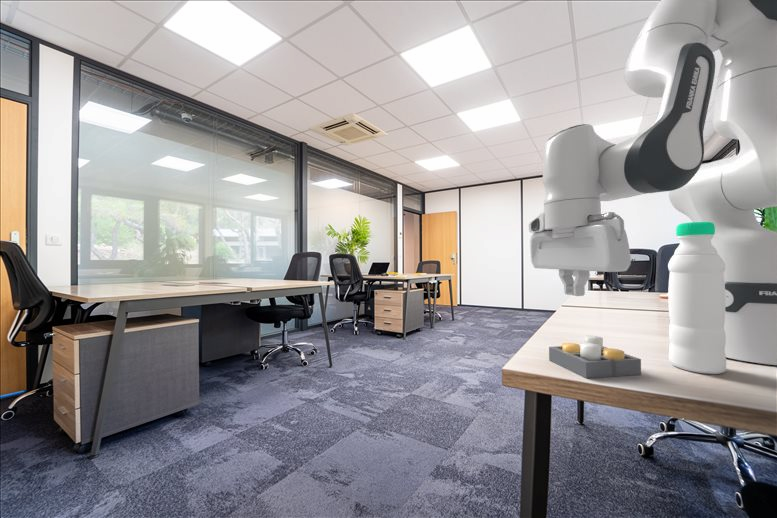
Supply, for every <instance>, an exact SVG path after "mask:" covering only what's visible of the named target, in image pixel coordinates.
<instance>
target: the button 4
mask: <svg viewBox="0 0 777 518" xmlns="http://www.w3.org/2000/svg"><path fill="white" fill-rule="evenodd" d="M624 354H625V351H624V350H621V349H617V348H611V347H606V348H605V349H603V356H605V357H608V358H610V359H613V360H616V359H624Z"/></svg>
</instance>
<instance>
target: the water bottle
mask: <svg viewBox="0 0 777 518" xmlns="http://www.w3.org/2000/svg"><path fill="white" fill-rule="evenodd" d="M675 234H676V237H677V239H678V240H679V244H678V246H677V248H676V249H675V250H674V253H673V255H672V256H671V257H670V259H669V261H668V263H667V268H668V269H667V270H668V271H669V276H668V277H669V278H668V291H667V292H668V301H667V302H668V316H669V317H668V318H669V321H670V323H669V327H668V339H669V348H668V361H669V362H670V364H671V365H672V366H674V367H676V368H679V369H681V370H685V371H688V372H693V373H699V374H706V375H707V374H708V375H720V374H722V373H725V372H726V371H727V357H726V355H725V344H726V335H725V331H724V323H725V282H724V275H723V272H724V271H725V263H724V261H723V259H722V258H721V257H720V255H717V254H718V252H717V250H716V249H715V247H714V246H713V245H712V244H711V239H712V238H713V237H714V236H713V235H714V234H715V225H714V224H713V223H712V222H693V221H691V222H683V223H679V224H677V226H676V229H675Z"/></svg>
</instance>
